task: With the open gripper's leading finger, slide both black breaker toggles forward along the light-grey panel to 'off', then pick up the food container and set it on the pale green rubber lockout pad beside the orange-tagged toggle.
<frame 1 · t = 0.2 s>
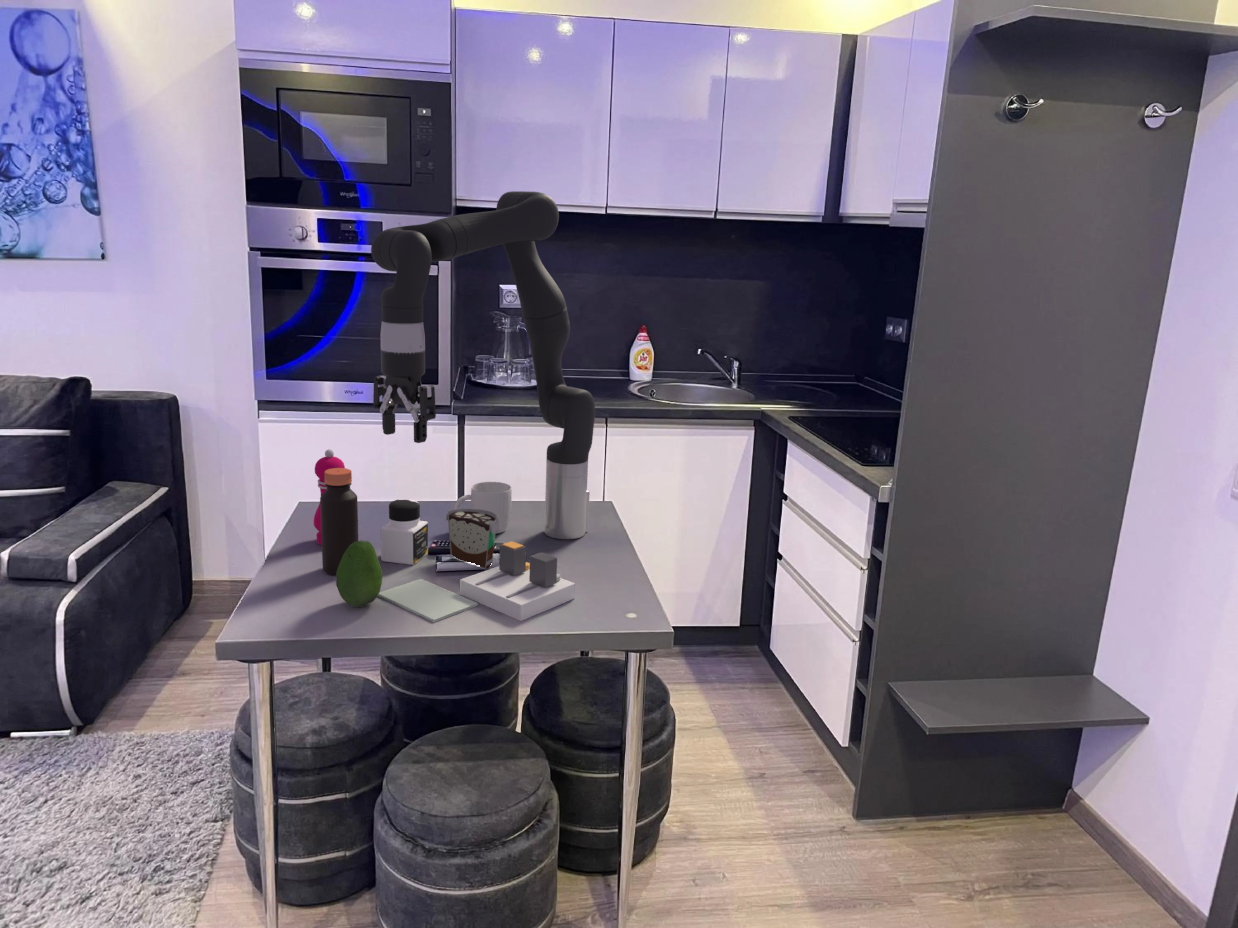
hand: (404, 437, 161), 29 cm above the table, fingers open, 8 cm apart
pad: (427, 600, 163), on the table
vinegar: (341, 570, 175), on the table
mug: (482, 530, 201), on the table
avocado: (359, 605, 160), on the table
food container: (478, 560, 184), on the table
medicine bottle: (404, 558, 183), on the table
pepper mill: (332, 541, 190), on the table
toggle B: (543, 569, 165), point 6 cm above the table, slide at 0.0 cm
toggle A: (512, 557, 169), point 6 cm above the table, slide at 0.0 cm
panel: (517, 596, 167), on the table
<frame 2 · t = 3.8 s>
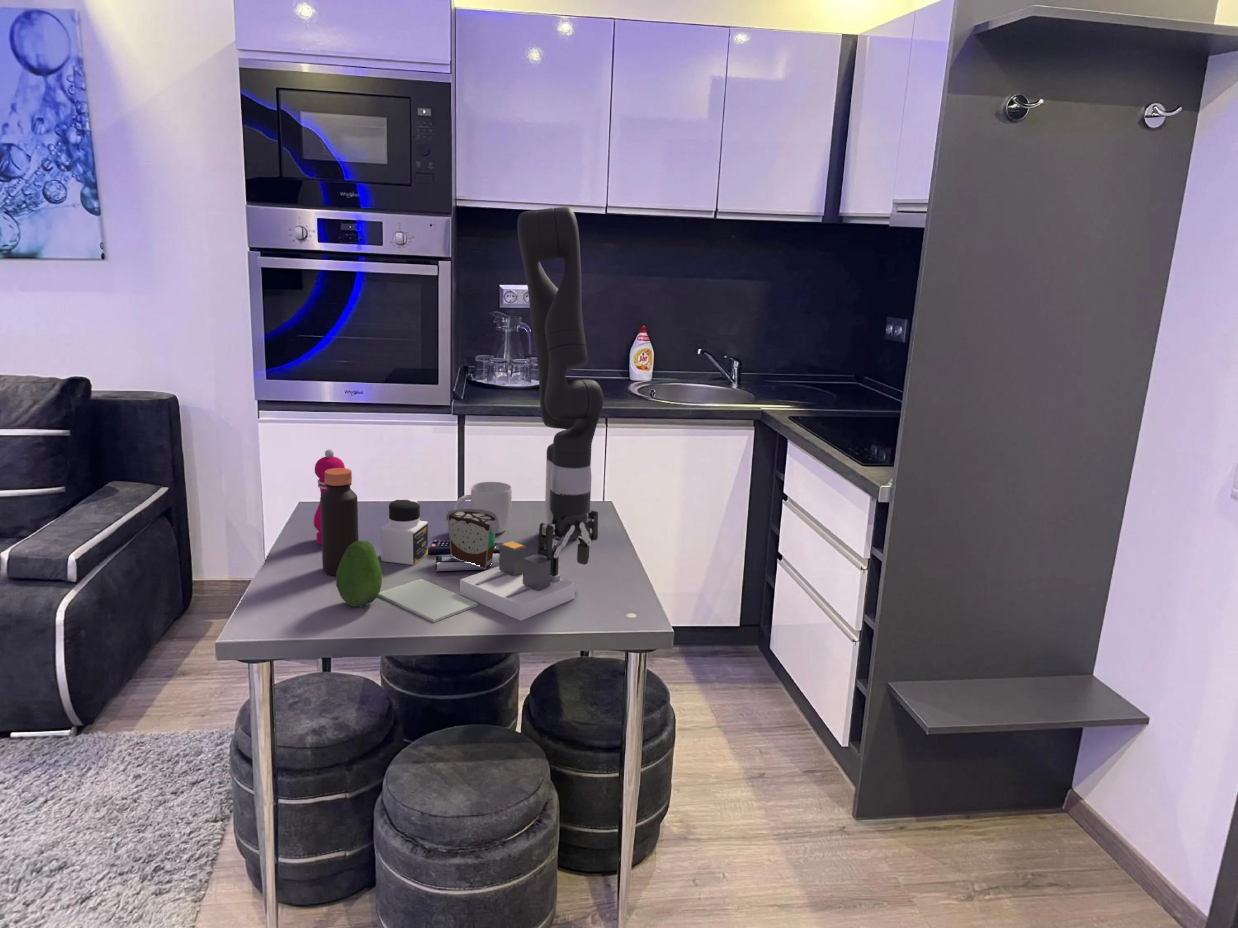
hand: (567, 569, 170), 4 cm above the table, fingers open, 8 cm apart
toggle B: (536, 572, 163), point 6 cm above the table, slide at 1.7 cm, touching gripper
everything else where it was.
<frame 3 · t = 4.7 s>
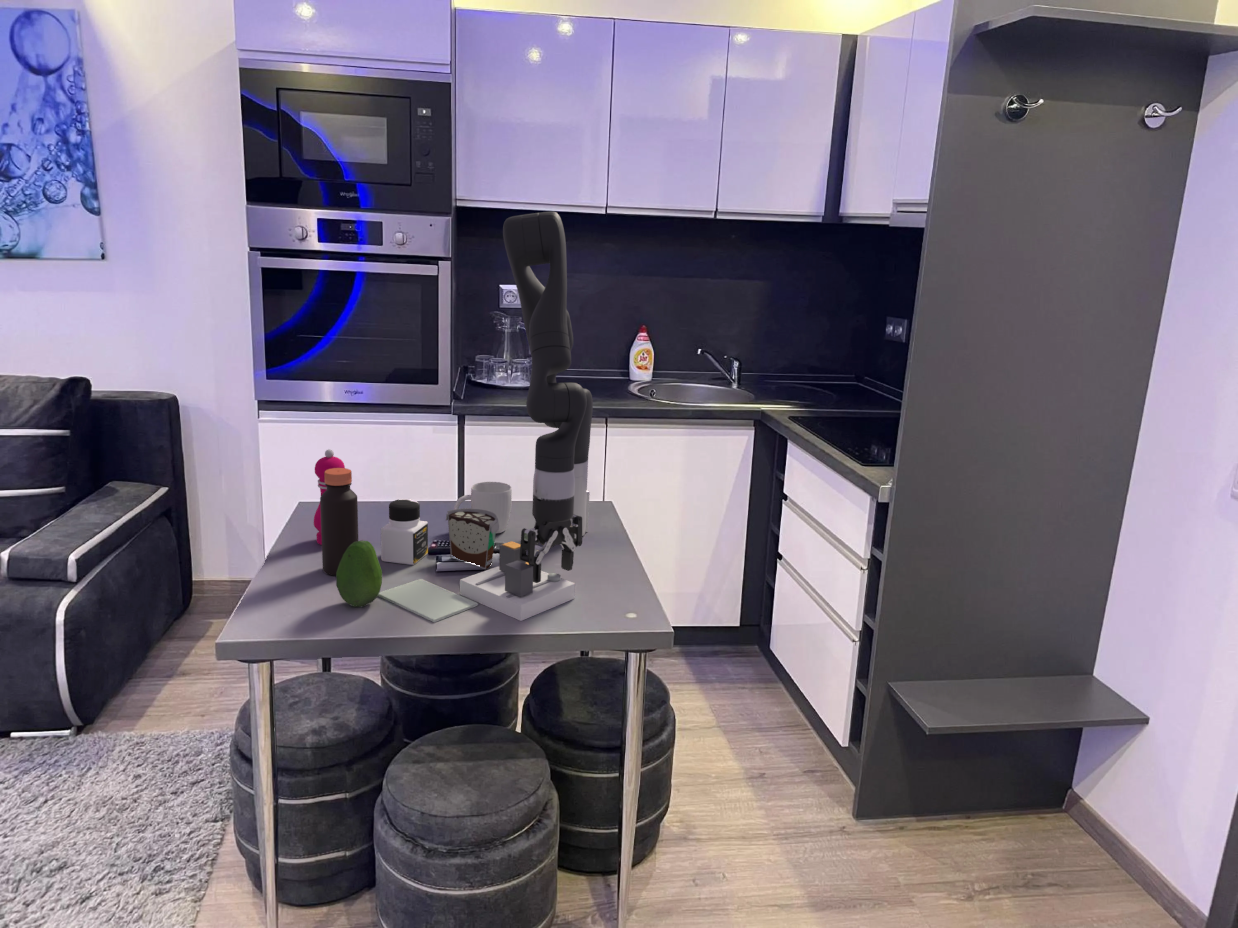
hand: (551, 575, 166), 4 cm above the table, fingers open, 8 cm apart
toggle B: (519, 578, 160), point 6 cm above the table, slide at 6.2 cm, touching gripper
everything else where it was.
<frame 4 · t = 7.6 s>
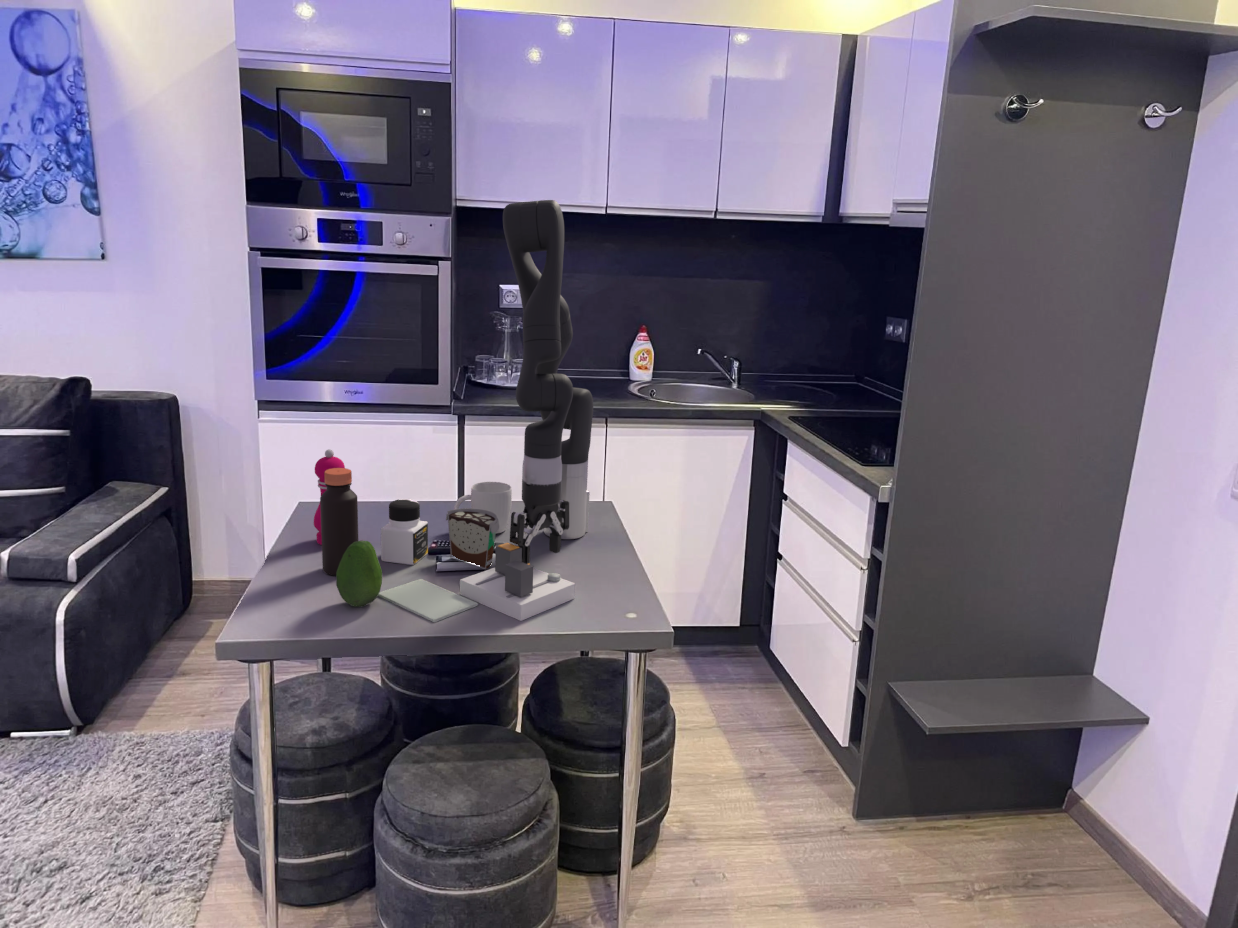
hand: (539, 557, 175), 4 cm above the table, fingers open, 8 cm apart
toggle B: (519, 578, 160), point 6 cm above the table, slide at 6.2 cm
toggle A: (508, 559, 169), point 6 cm above the table, slide at 1.1 cm, touching gripper
everything else where it was.
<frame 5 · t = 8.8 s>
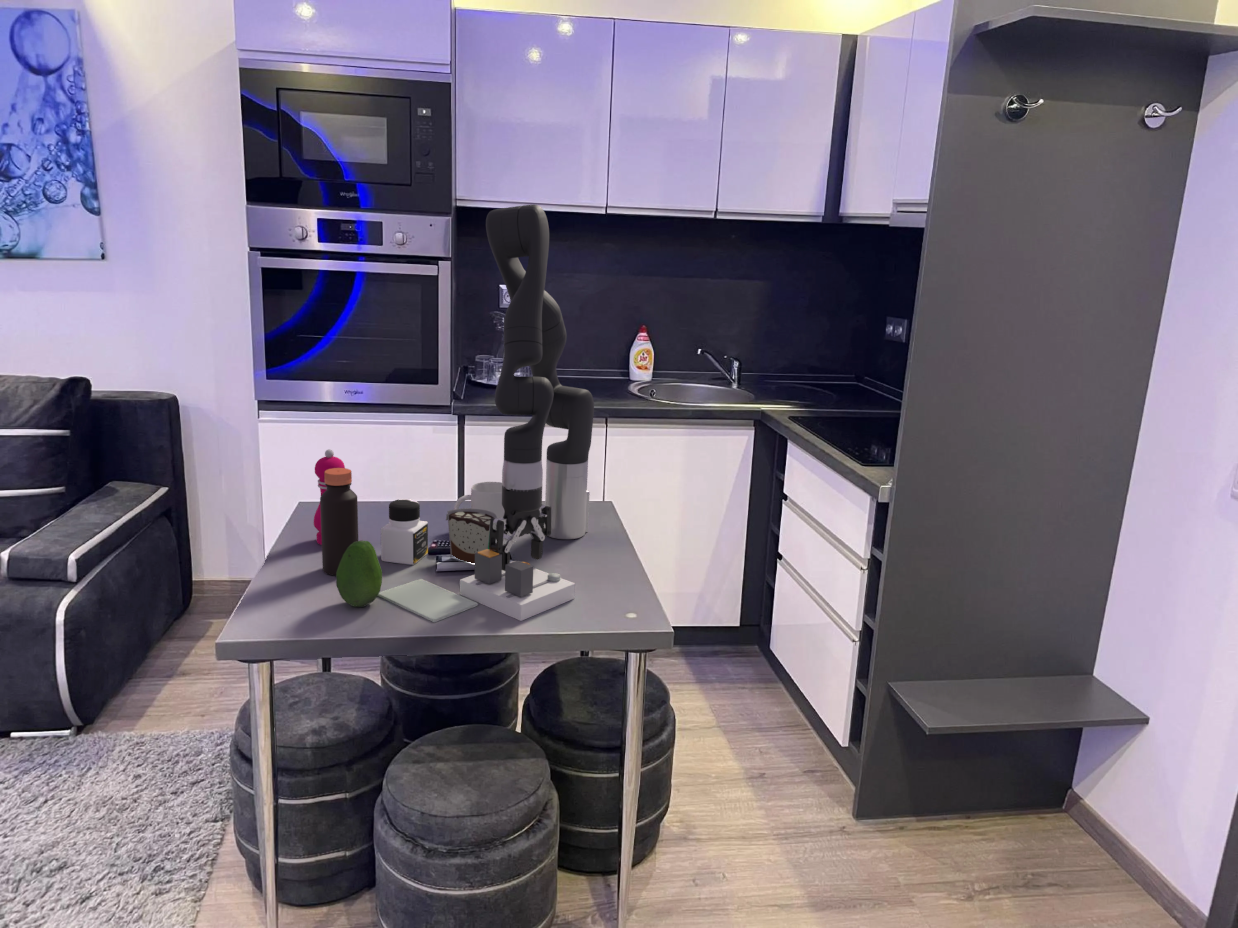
hand: (520, 563, 171), 4 cm above the table, fingers open, 8 cm apart
toggle A: (488, 566, 165), point 6 cm above the table, slide at 6.2 cm, touching gripper
everything else where it was.
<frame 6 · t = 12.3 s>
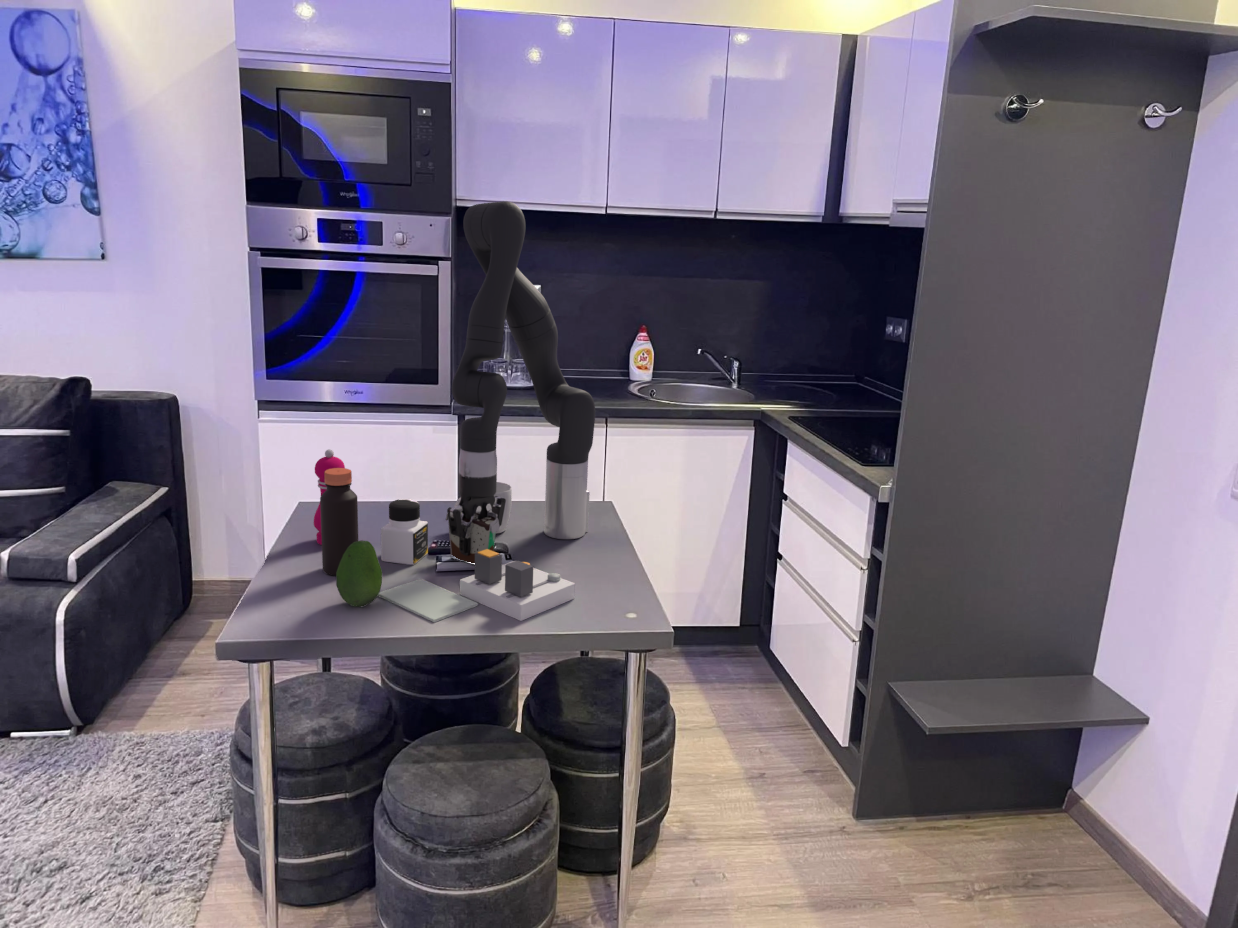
hand: (476, 550, 183), 2 cm above the table, fingers closed on food container, 5 cm apart
food container: (478, 560, 184), on the table, touching gripper
toggle A: (488, 566, 165), point 6 cm above the table, slide at 6.2 cm
everything else where it was.
when the fingers open (4 cm above the table, at t = 17.7 s): food container drops 1 cm, resting on pad.
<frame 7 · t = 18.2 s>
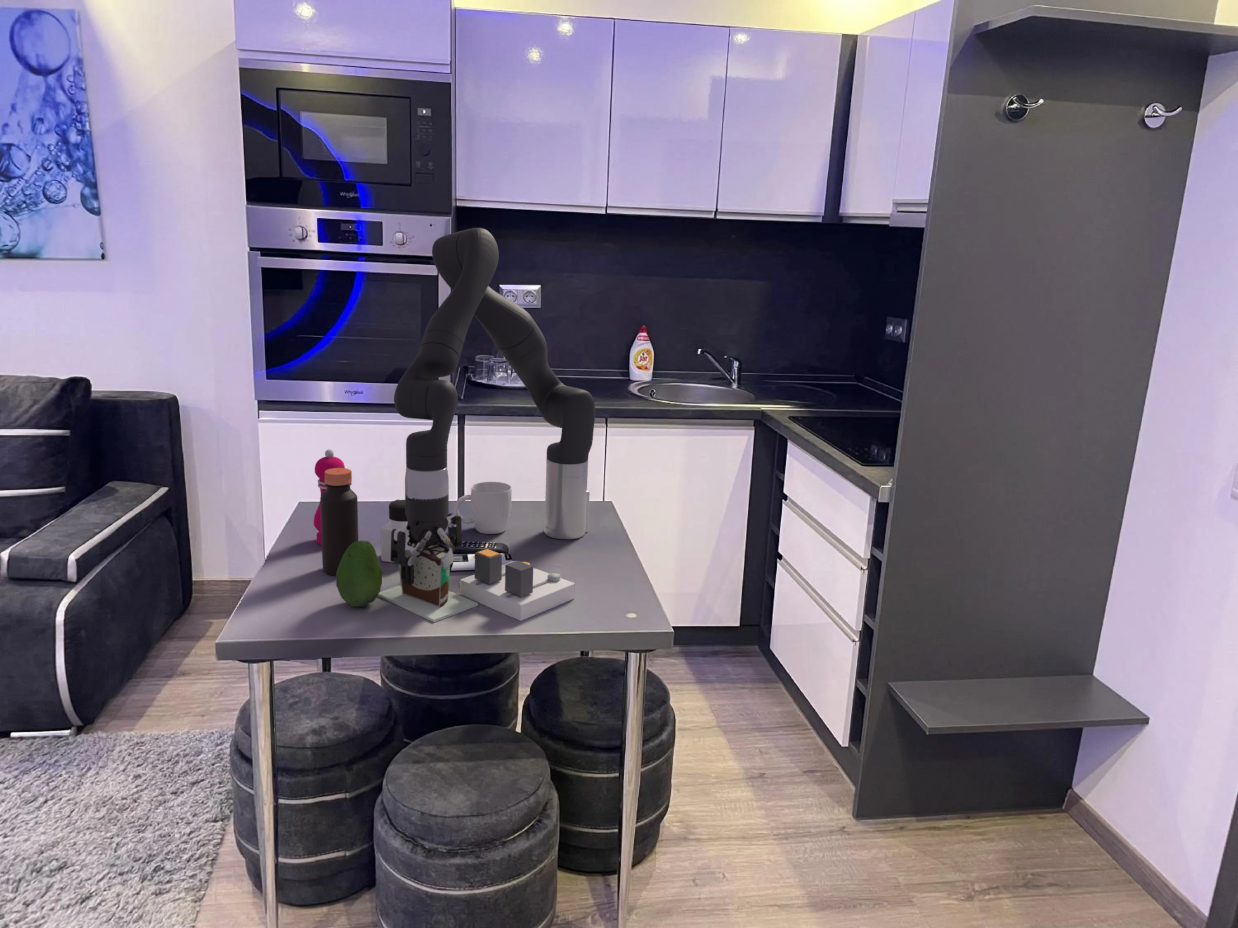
hand: (427, 576, 162), 5 cm above the table, fingers open, 8 cm apart
food container: (433, 595, 164), resting on pad, touching gripper
everything else where it was.
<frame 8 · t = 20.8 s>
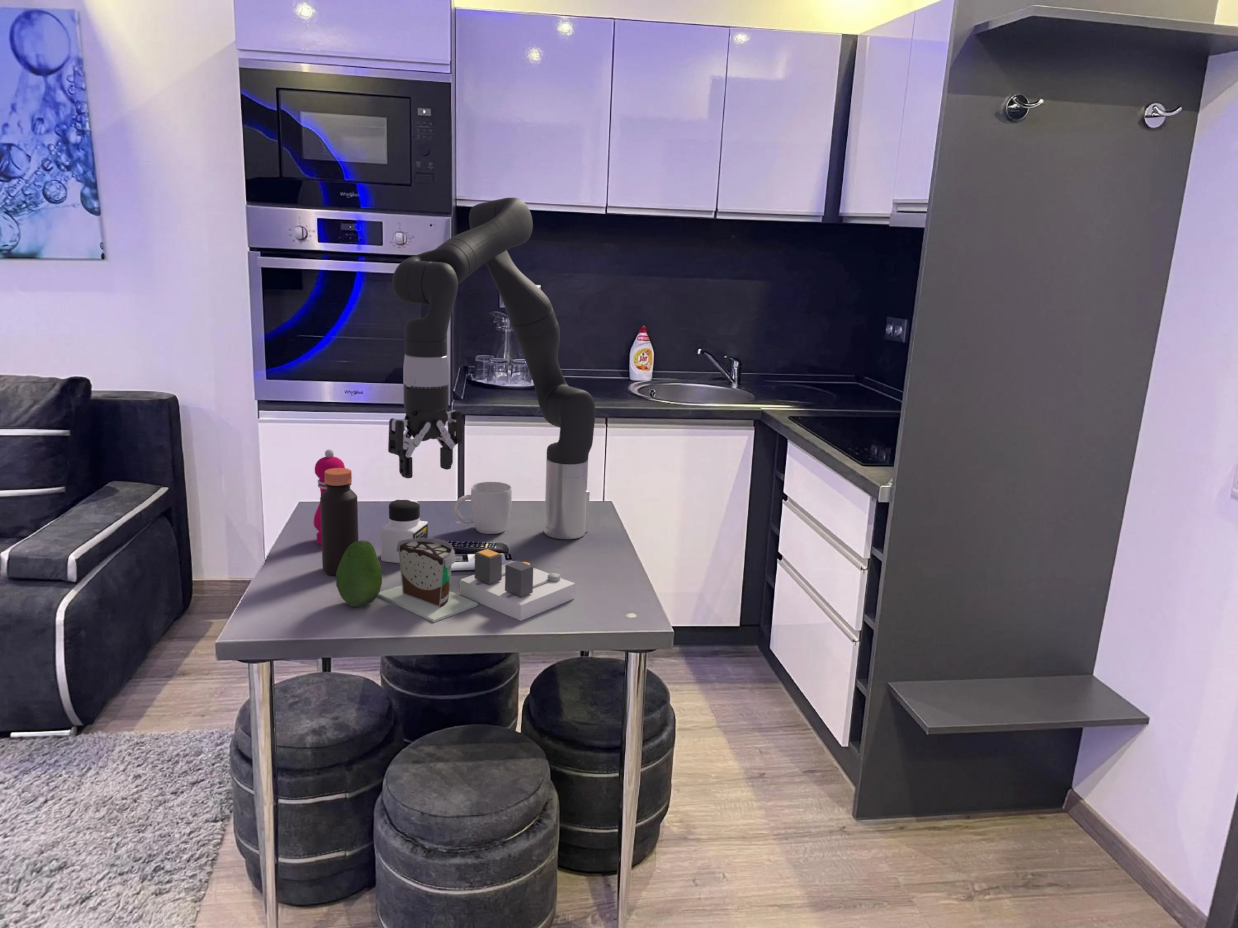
hand: (426, 472, 157), 24 cm above the table, fingers open, 8 cm apart
food container: (433, 596, 164), resting on pad
everything else where it was.
at the end: toggle A slide at 6.2 cm; toggle B slide at 6.2 cm; food container inside the target area on the pad (1.5 cm from its centre), point 0.3 cm above the pad's base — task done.
